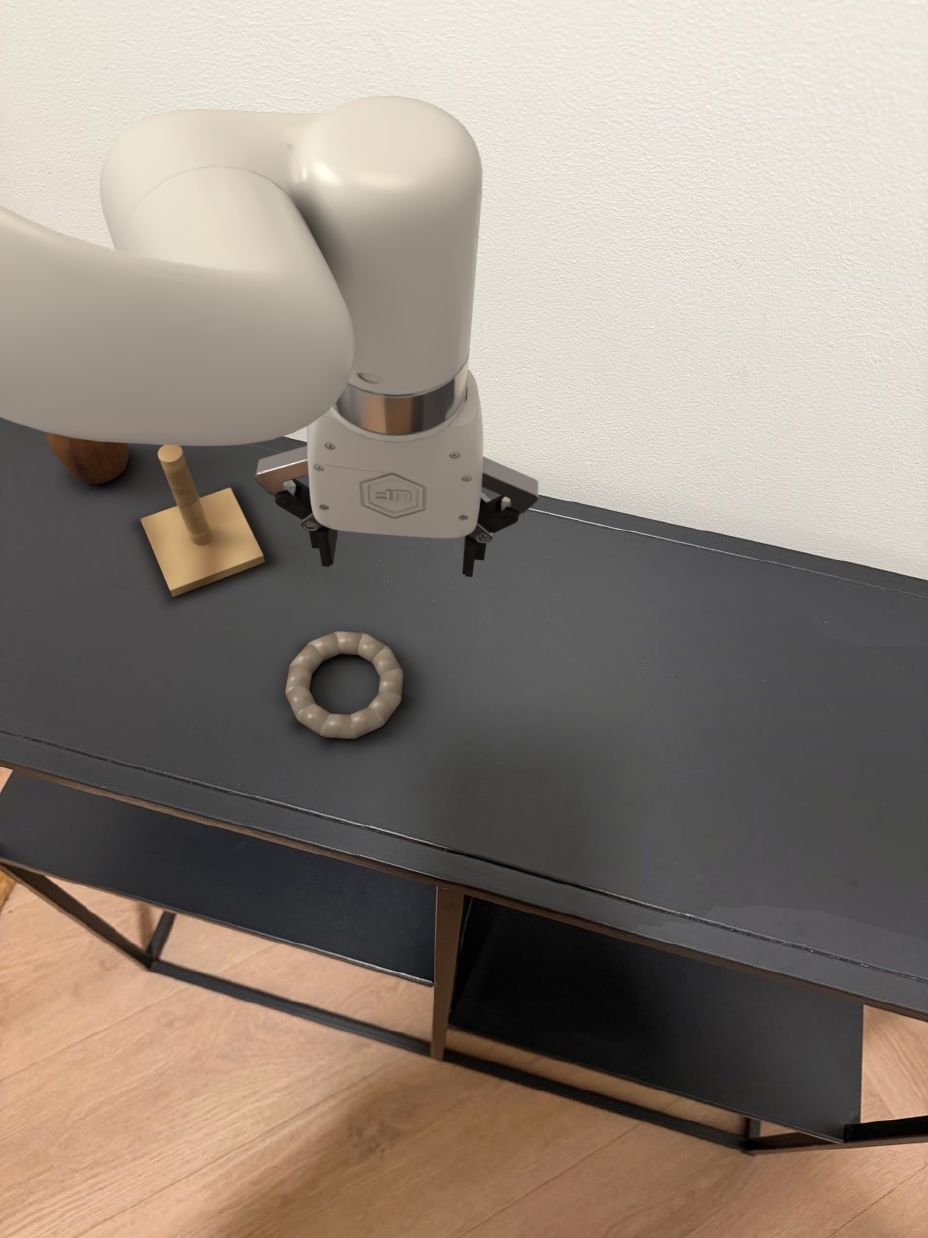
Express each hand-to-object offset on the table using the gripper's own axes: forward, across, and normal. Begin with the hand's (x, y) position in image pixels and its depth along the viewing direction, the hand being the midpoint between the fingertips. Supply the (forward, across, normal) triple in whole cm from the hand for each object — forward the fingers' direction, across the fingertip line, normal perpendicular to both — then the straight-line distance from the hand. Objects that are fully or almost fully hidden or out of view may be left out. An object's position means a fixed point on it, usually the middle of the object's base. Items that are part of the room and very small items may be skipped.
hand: (399, 554), depth 58 cm
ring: (+18, -5, -2) cm, 19 cm away
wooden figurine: (+19, -32, +21) cm, 43 cm away
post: (+19, -20, +12) cm, 31 cm away
